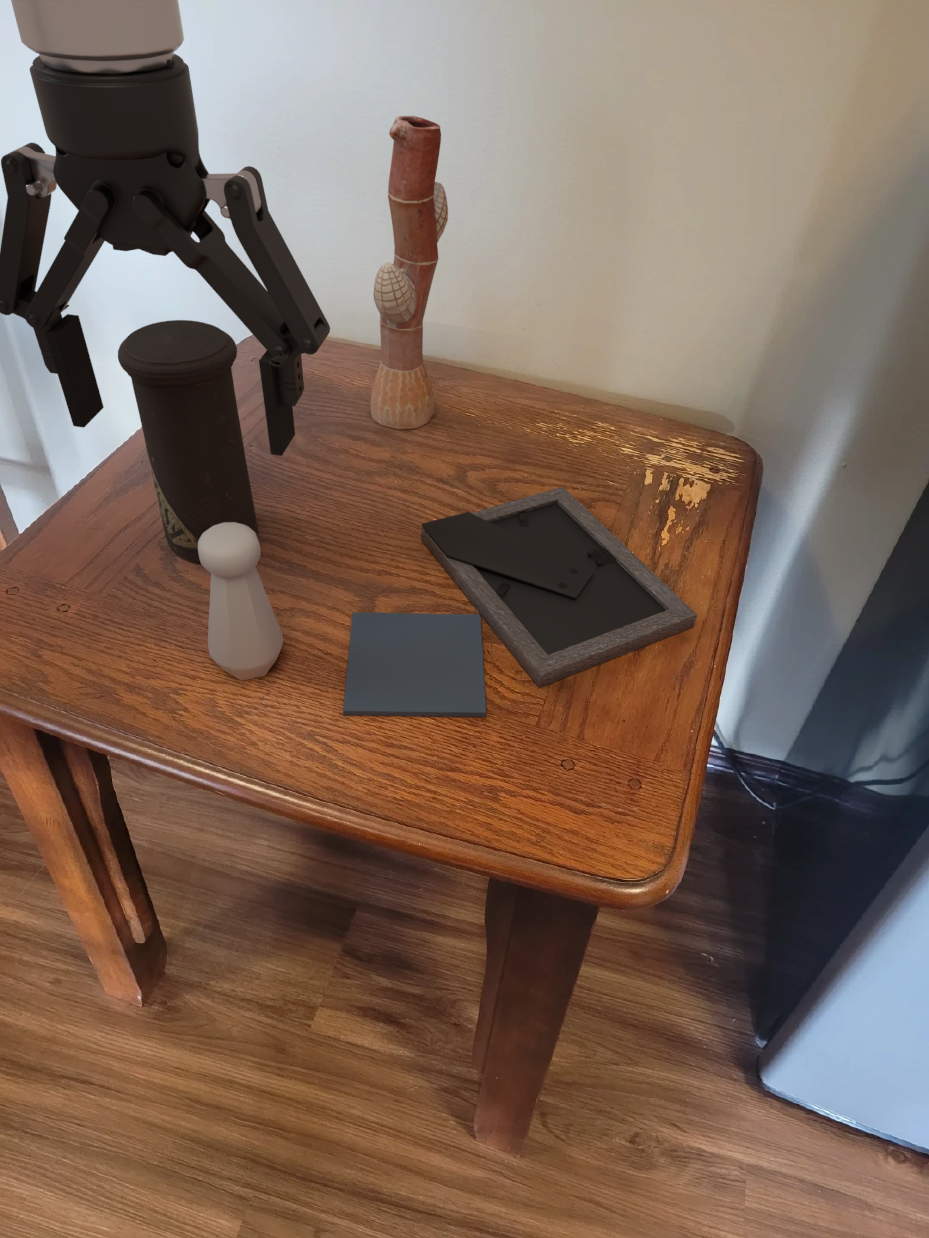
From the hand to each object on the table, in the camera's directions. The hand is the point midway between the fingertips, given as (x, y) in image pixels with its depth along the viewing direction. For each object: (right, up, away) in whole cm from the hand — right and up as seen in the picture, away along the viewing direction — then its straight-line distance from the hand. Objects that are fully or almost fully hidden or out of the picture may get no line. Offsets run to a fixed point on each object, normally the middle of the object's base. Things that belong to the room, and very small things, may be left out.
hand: (185, 431), depth 57 cm
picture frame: (+27, -9, +21) cm, 35 cm away
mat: (+15, -16, +13) cm, 25 cm away
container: (-5, -5, +23) cm, 24 cm away
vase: (+12, +11, +42) cm, 45 cm away
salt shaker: (+1, -16, +12) cm, 20 cm away
